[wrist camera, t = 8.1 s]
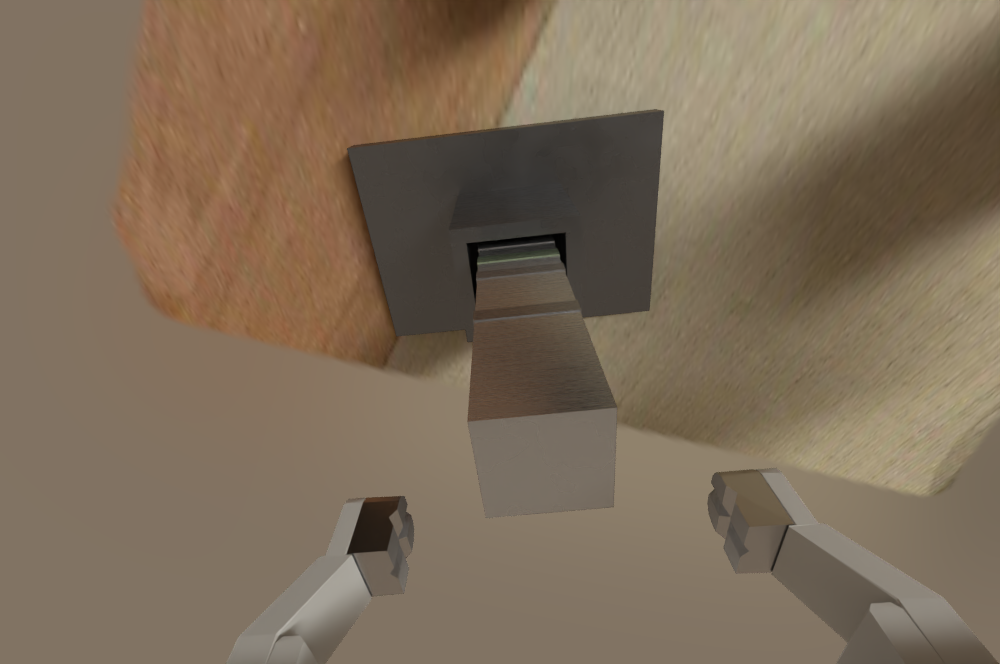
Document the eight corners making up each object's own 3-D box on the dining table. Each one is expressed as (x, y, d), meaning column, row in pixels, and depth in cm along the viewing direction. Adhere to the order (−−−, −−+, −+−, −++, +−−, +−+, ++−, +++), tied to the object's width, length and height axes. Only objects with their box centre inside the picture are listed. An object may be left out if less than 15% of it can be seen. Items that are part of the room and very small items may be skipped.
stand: (656, 109, 28) (733, 123, 19) (643, 302, 35) (696, 379, 26) (353, 145, 29) (291, 175, 20) (399, 327, 36) (369, 410, 27)
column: (549, 227, 25) (619, 406, 12) (552, 291, 27) (615, 508, 14) (479, 235, 26) (465, 420, 12) (487, 298, 28) (484, 519, 14)
